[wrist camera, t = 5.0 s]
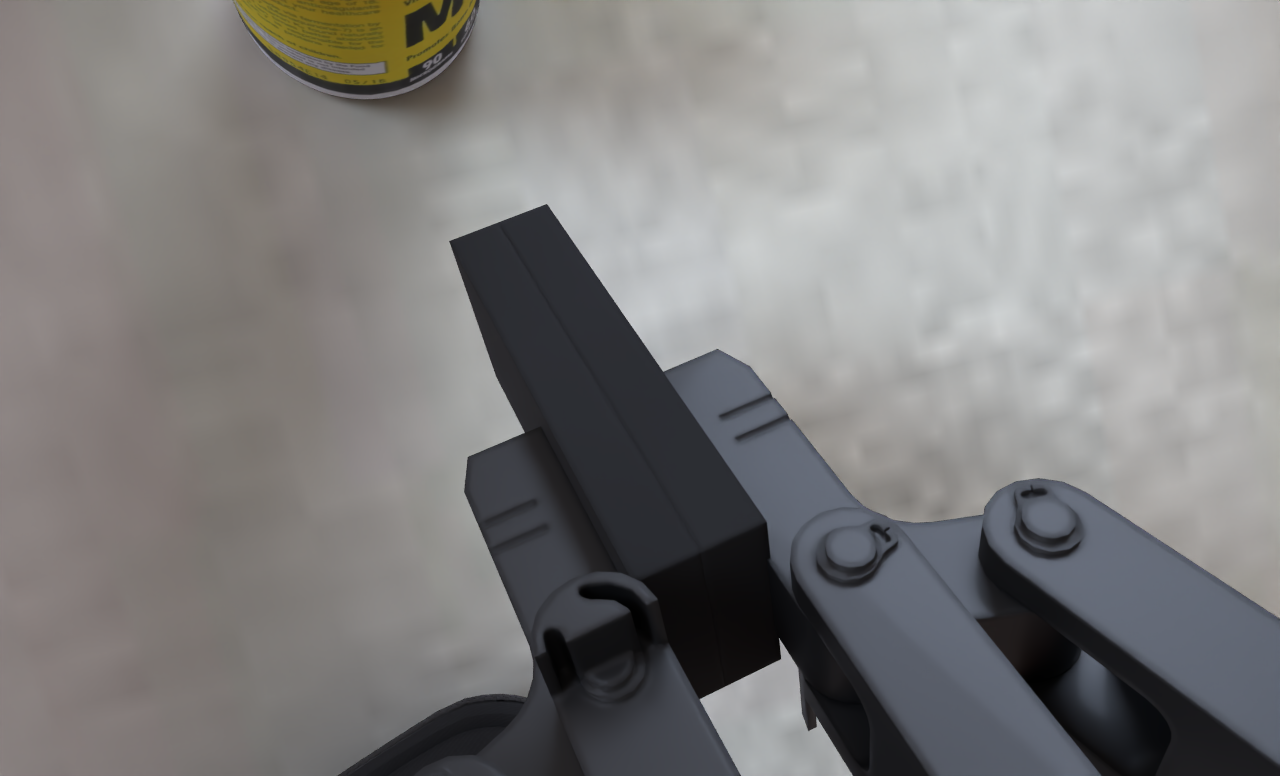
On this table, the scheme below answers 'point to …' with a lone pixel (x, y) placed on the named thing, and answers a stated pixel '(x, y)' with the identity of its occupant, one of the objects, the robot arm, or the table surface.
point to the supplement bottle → (360, 41)
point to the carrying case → (442, 736)
